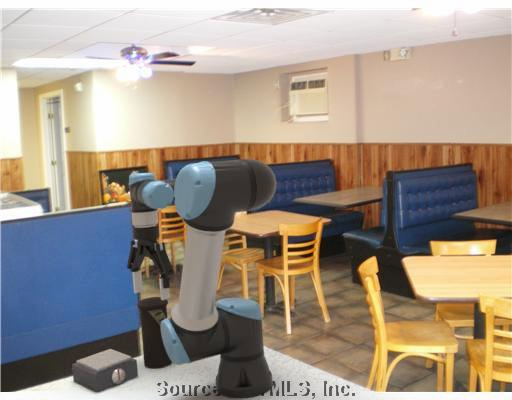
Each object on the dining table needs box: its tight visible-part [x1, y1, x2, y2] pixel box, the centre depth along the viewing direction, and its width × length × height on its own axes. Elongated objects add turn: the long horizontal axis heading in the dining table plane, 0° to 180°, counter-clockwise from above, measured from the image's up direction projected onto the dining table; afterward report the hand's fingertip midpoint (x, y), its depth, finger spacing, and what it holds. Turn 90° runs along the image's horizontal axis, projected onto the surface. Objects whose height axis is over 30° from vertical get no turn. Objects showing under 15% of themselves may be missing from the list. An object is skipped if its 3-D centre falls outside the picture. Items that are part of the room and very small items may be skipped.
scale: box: [71, 348, 139, 393], centre depth 158 cm, size 14×13×6 cm
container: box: [137, 296, 173, 369], centre depth 167 cm, size 9×9×20 cm
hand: (151, 295), depth 166 cm, fingers open, 13 cm apart
